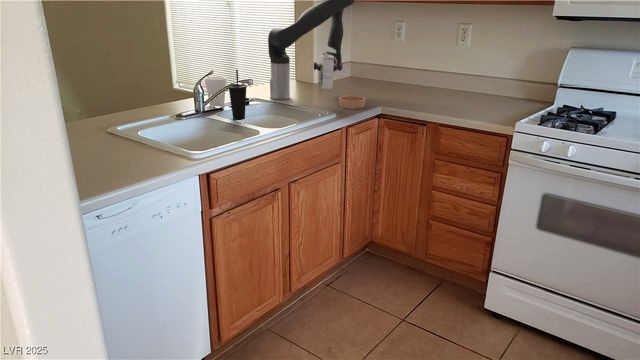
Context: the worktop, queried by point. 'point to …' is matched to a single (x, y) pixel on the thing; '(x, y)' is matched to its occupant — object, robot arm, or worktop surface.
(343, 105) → the terracotta bowl
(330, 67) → the syrup box
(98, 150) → the worktop surface
